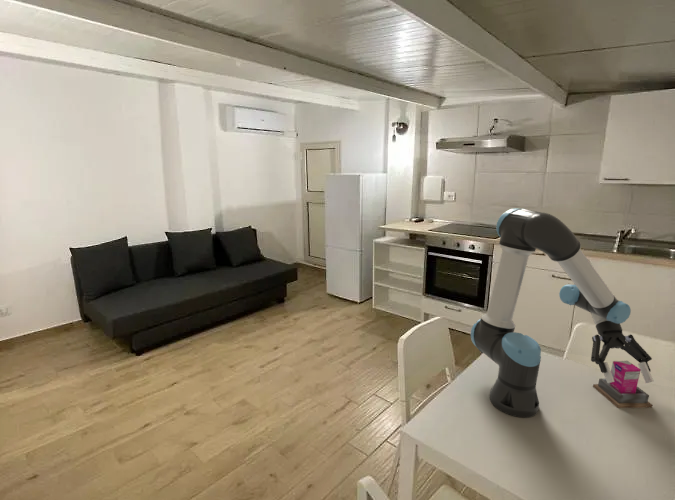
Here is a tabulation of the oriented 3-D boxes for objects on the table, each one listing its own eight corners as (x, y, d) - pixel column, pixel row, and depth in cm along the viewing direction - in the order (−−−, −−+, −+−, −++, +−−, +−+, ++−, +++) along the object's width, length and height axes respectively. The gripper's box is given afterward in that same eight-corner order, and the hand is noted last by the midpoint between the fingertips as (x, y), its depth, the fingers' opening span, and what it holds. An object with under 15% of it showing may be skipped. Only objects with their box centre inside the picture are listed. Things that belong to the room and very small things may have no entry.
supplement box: (606, 389, 135) (612, 360, 133) (622, 388, 136) (628, 360, 133) (618, 399, 130) (625, 369, 127) (635, 399, 130) (642, 369, 127)
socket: (617, 407, 127) (619, 397, 126) (592, 386, 138) (594, 376, 137) (652, 407, 127) (654, 397, 126) (624, 386, 139) (626, 376, 138)
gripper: (632, 326, 143) (657, 384, 132) (568, 326, 143) (588, 384, 132) (646, 319, 137) (674, 379, 126) (579, 319, 136) (601, 380, 125)
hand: (630, 382), depth 129 cm, fingers open, 13 cm apart
